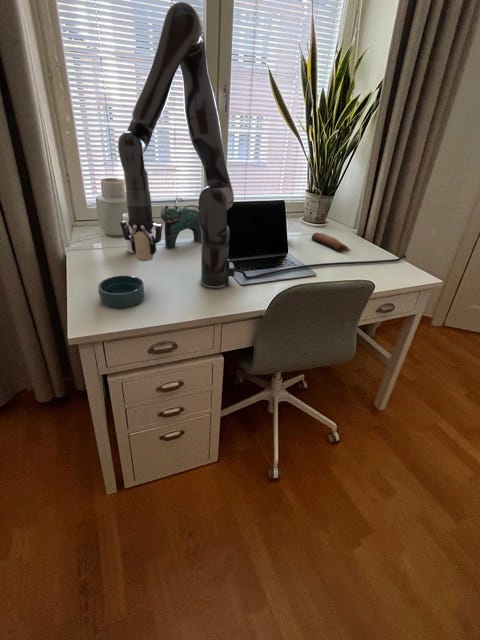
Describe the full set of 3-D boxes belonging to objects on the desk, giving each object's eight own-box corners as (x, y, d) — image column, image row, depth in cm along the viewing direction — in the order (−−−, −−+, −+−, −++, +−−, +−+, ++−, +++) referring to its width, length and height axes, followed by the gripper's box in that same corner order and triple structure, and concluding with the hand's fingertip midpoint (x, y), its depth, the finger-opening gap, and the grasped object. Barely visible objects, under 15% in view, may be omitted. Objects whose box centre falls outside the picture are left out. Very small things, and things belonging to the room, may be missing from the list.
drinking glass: (144, 253, 142) (141, 216, 134) (127, 254, 140) (123, 217, 132) (142, 247, 148) (138, 212, 140) (125, 249, 145) (121, 212, 137)
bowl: (145, 288, 116) (144, 275, 114) (142, 308, 105) (141, 294, 103) (104, 289, 114) (102, 275, 111) (97, 309, 103) (94, 295, 100)
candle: (149, 262, 117) (146, 233, 112) (134, 260, 118) (130, 231, 113) (155, 256, 122) (153, 228, 117) (141, 254, 123) (137, 226, 117)
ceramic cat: (167, 250, 147) (164, 201, 136) (159, 245, 151) (156, 198, 140) (206, 242, 158) (206, 196, 147) (198, 238, 162) (197, 193, 152)
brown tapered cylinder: (351, 248, 160) (348, 237, 156) (340, 258, 159) (337, 247, 155) (323, 237, 173) (320, 226, 168) (313, 245, 172) (310, 235, 167)
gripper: (164, 201, 112) (168, 251, 121) (123, 198, 114) (129, 247, 123) (155, 207, 106) (160, 259, 115) (112, 203, 108) (119, 254, 117)
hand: (144, 252), depth 119 cm, fingers closed on candle, 5 cm apart
